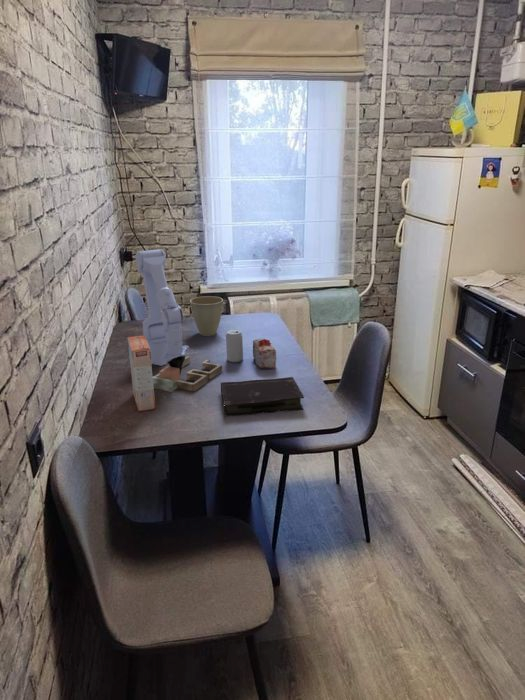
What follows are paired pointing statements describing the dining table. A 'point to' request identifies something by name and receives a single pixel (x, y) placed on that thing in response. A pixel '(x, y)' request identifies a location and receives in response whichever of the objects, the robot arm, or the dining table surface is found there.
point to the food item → (264, 353)
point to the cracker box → (141, 372)
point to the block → (170, 373)
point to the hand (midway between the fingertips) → (177, 375)
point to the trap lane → (189, 377)
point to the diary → (261, 396)
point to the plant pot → (207, 313)
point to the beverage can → (234, 345)
